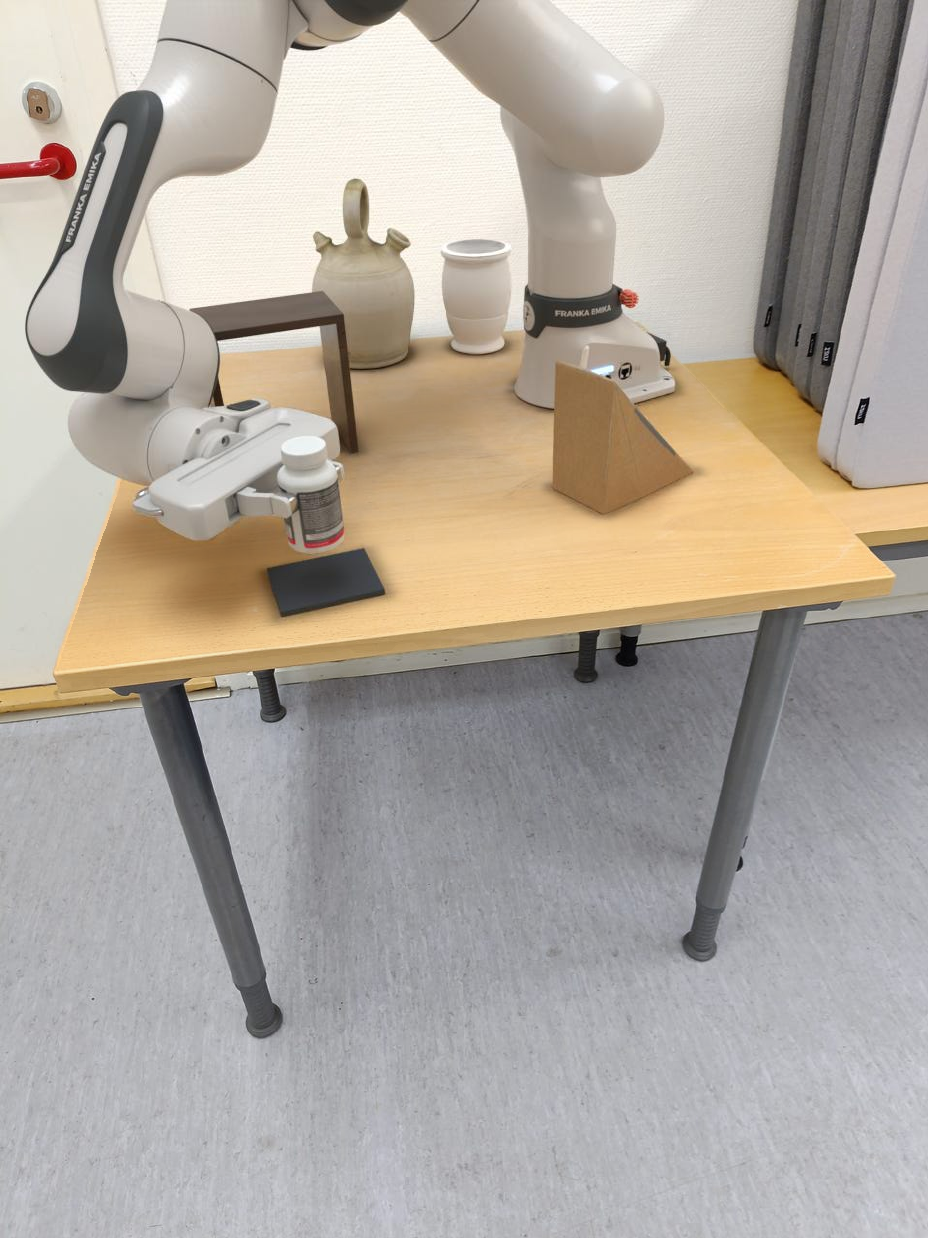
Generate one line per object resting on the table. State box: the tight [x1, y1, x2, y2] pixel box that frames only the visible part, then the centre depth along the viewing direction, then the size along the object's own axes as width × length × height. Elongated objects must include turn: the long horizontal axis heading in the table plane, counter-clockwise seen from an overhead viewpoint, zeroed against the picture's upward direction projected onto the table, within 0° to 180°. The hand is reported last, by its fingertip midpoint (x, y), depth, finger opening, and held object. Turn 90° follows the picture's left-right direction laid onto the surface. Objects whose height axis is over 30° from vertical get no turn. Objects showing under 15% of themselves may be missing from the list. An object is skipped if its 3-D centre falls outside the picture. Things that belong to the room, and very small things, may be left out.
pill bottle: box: [277, 436, 345, 555], centre depth 78 cm, size 5×5×10 cm
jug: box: [311, 177, 415, 370], centre depth 128 cm, size 15×16×25 cm
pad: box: [266, 547, 386, 618], centre depth 84 cm, size 10×8×1 cm
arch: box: [188, 291, 360, 454], centre depth 104 cm, size 10×16×17 cm, turn 111°
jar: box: [440, 238, 512, 355], centre depth 133 cm, size 11×10×15 cm
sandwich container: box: [552, 360, 695, 515], centre depth 95 cm, size 9×15×15 cm, turn 129°
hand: (317, 490), depth 78 cm, fingers closed on pill bottle, 5 cm apart
